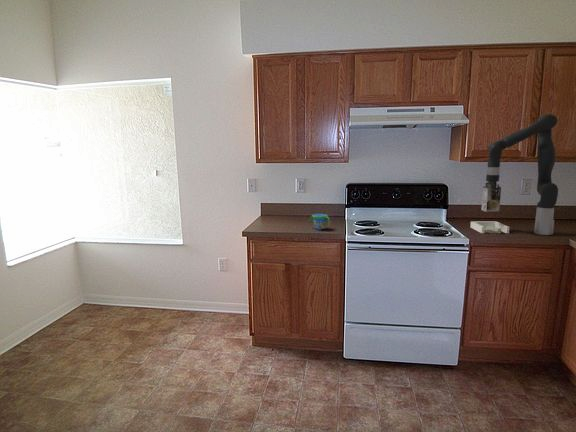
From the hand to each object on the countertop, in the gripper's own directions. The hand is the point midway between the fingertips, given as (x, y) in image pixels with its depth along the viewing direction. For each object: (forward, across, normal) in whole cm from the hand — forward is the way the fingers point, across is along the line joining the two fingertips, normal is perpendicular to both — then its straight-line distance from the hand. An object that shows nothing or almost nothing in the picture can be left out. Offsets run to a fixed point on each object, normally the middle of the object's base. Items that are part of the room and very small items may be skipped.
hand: (491, 199), depth 247 cm
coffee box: (+8, 0, 0) cm, 8 cm away
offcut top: (+19, -7, 0) cm, 20 cm away
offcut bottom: (+23, -6, 0) cm, 23 cm away
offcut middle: (+21, -6, 0) cm, 22 cm away
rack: (+22, 0, 0) cm, 22 cm away
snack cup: (+21, +6, +113) cm, 115 cm away
